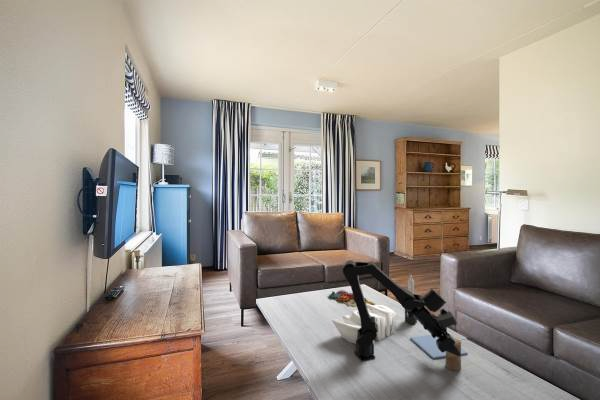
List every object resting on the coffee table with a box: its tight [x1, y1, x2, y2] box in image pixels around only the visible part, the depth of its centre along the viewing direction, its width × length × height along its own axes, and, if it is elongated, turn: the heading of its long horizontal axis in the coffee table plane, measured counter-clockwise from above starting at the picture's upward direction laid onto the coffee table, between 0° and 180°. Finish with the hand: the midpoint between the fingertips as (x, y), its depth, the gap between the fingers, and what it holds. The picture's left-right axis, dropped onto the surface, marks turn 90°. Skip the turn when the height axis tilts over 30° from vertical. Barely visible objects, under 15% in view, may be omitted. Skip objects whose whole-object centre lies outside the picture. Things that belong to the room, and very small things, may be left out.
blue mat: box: [410, 334, 469, 360], centre depth 122 cm, size 16×16×1 cm
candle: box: [404, 273, 418, 326], centre depth 145 cm, size 5×5×25 cm
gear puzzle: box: [327, 289, 376, 308], centre depth 174 cm, size 31×16×4 cm, turn 41°
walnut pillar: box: [445, 337, 462, 372], centre depth 108 cm, size 5×5×10 cm
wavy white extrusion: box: [331, 303, 398, 345], centre depth 134 cm, size 35×16×11 cm, turn 125°
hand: (457, 350), depth 107 cm, fingers open, 7 cm apart
